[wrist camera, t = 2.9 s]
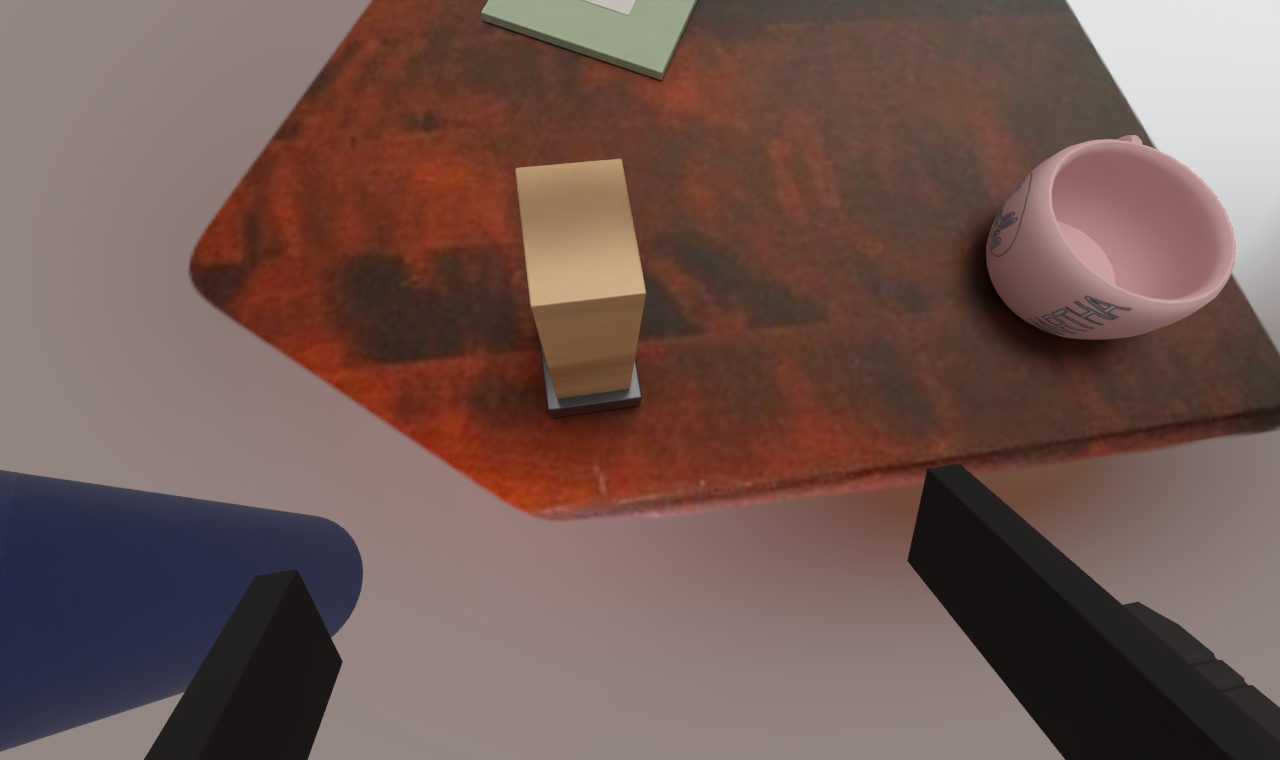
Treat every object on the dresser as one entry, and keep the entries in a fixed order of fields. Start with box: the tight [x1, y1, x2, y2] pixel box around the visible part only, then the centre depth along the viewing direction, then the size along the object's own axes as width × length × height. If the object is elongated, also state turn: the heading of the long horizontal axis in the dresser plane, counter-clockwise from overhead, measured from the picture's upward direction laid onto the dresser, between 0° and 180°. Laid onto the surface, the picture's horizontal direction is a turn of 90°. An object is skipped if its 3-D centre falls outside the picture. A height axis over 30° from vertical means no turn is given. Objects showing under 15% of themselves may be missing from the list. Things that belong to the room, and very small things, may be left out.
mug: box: [986, 135, 1236, 340], centre depth 29 cm, size 12×10×6 cm
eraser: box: [515, 159, 646, 418], centre depth 23 cm, size 6×4×12 cm
